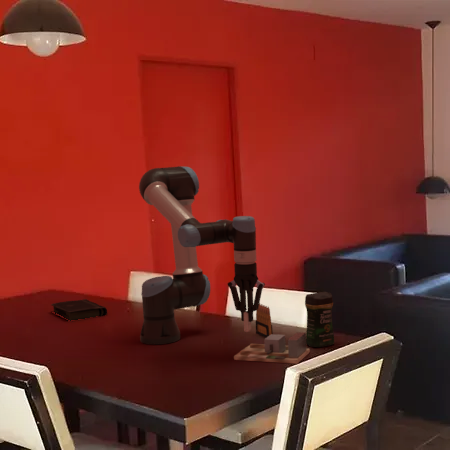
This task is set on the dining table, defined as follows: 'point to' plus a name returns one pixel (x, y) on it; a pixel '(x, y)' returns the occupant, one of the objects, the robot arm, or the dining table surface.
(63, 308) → the diary
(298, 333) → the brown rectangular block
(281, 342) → the grey rectangular block
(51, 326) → the dining table surface
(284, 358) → the board
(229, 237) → the robot arm
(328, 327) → the coffee jar
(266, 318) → the ammunition clip
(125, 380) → the dining table surface
